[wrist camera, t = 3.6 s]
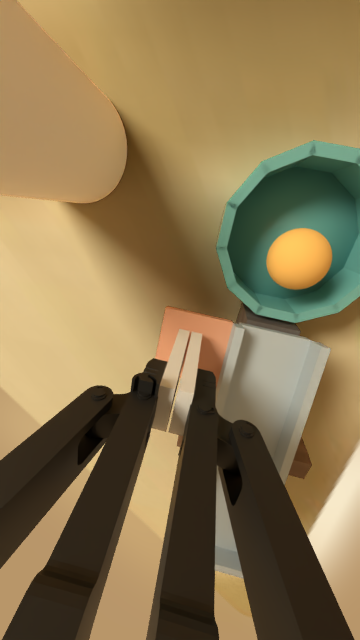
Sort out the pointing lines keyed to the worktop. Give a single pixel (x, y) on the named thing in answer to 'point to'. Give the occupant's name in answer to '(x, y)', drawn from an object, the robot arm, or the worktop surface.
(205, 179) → the worktop surface
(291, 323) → the stand
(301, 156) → the dish
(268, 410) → the lever
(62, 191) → the cup
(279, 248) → the ball
